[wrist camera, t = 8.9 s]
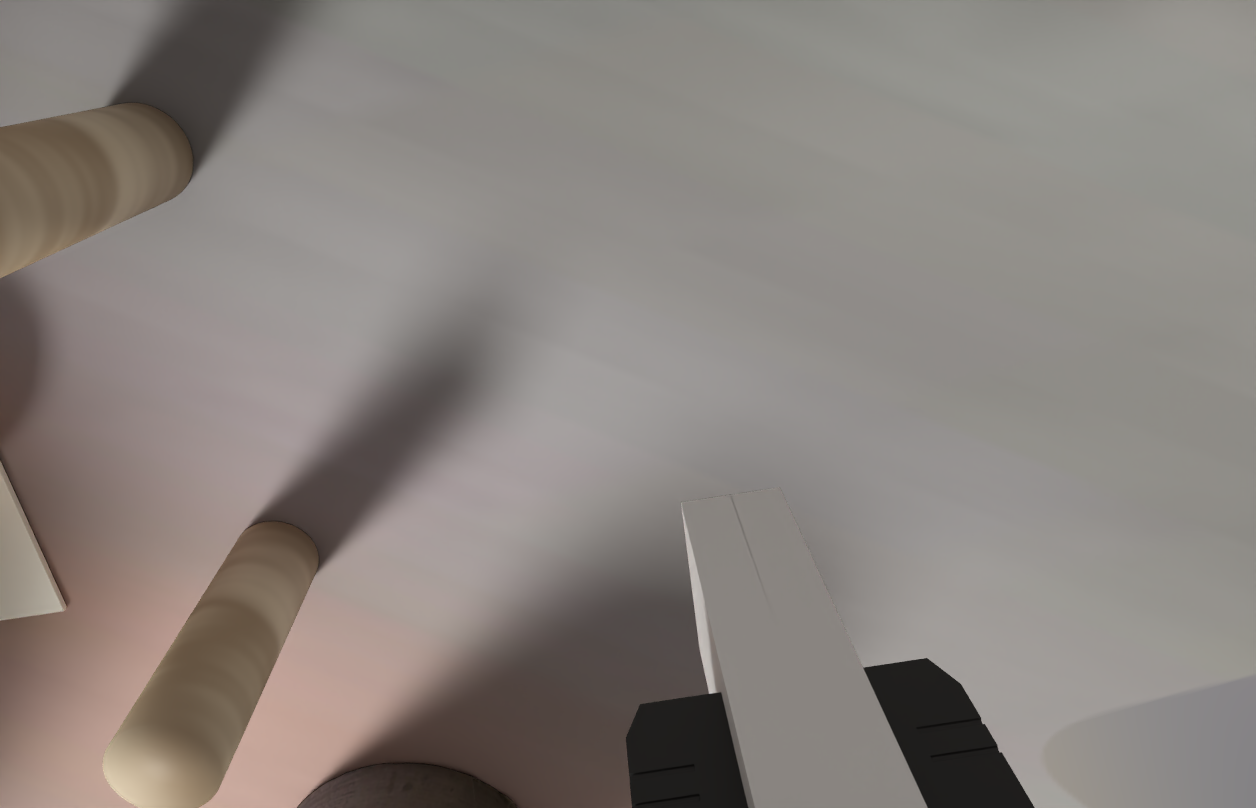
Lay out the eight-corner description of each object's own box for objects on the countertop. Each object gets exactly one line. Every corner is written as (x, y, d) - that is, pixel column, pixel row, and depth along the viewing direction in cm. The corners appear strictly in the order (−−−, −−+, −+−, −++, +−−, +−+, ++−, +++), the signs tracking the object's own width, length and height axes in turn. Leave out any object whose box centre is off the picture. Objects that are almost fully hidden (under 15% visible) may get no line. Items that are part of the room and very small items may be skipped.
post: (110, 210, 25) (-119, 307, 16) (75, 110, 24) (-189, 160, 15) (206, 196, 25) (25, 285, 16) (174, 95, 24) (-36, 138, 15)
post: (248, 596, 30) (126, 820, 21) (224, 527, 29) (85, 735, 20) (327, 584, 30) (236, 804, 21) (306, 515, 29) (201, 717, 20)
